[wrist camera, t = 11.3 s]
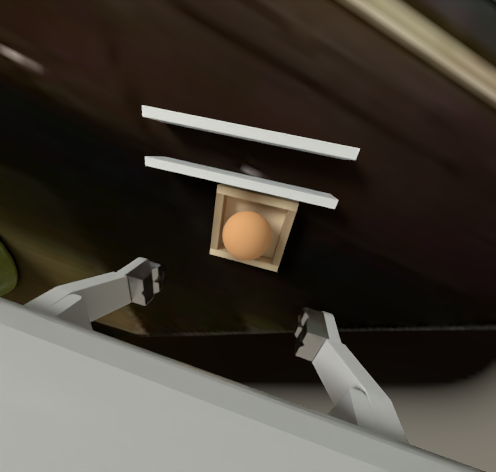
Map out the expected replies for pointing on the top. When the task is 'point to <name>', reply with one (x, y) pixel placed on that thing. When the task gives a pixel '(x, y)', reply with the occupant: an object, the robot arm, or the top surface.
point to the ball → (247, 235)
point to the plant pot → (7, 271)
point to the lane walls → (251, 135)
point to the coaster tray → (267, 205)
